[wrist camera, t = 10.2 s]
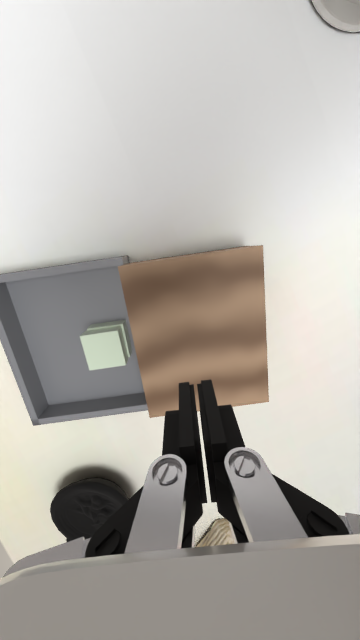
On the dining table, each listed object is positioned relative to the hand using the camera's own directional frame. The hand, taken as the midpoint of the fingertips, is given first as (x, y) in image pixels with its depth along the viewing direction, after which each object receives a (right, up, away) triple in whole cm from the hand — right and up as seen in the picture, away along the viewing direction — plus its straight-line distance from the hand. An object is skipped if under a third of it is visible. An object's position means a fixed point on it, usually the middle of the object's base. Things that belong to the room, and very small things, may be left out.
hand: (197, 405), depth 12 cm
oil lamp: (-17, -31, +34) cm, 49 cm away
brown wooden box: (+1, +4, +24) cm, 24 cm away
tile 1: (-11, 0, +19) cm, 22 cm away
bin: (-15, +1, +24) cm, 28 cm away
